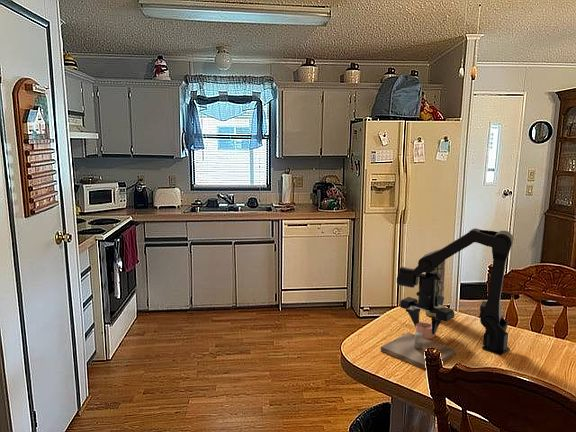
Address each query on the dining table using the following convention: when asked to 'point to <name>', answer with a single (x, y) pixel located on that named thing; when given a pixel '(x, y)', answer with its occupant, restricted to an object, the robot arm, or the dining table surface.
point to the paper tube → (439, 284)
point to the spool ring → (425, 329)
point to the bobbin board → (415, 349)
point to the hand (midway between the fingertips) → (425, 331)
